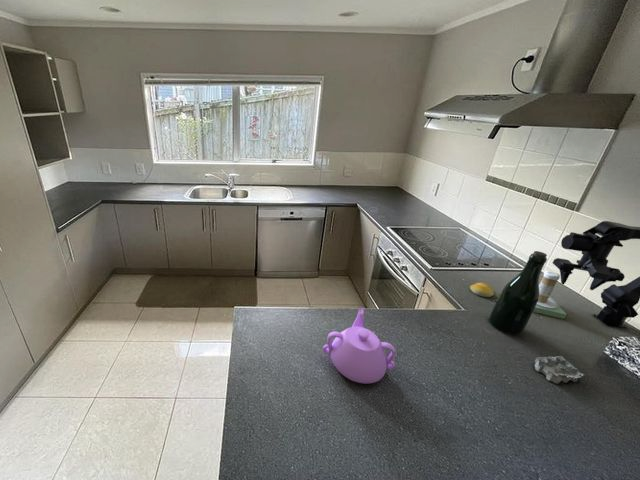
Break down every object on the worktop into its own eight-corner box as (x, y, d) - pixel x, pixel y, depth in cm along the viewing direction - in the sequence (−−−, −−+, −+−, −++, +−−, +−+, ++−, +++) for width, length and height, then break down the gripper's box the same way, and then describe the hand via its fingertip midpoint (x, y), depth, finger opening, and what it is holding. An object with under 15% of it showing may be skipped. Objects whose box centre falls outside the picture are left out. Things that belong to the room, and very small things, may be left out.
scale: (549, 302, 126) (552, 295, 124) (563, 318, 115) (567, 312, 114) (510, 293, 131) (513, 287, 129) (521, 309, 120) (524, 302, 119)
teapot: (385, 342, 100) (394, 312, 95) (396, 398, 81) (408, 364, 75) (323, 329, 105) (328, 299, 100) (319, 378, 86) (325, 345, 81)
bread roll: (466, 289, 132) (468, 282, 131) (477, 285, 136) (480, 278, 134) (485, 300, 125) (488, 292, 124) (496, 295, 129) (499, 288, 127)
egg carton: (551, 384, 87) (557, 375, 85) (528, 364, 94) (533, 355, 92) (582, 383, 88) (589, 374, 86) (557, 362, 95) (562, 354, 93)
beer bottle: (500, 315, 116) (534, 244, 103) (528, 333, 107) (569, 258, 94) (481, 319, 114) (513, 247, 101) (508, 338, 104) (548, 261, 91)
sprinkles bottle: (539, 296, 124) (552, 270, 118) (549, 302, 120) (563, 276, 114) (529, 296, 124) (542, 270, 118) (539, 303, 119) (553, 276, 114)
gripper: (577, 257, 104) (557, 291, 111) (646, 269, 98) (622, 305, 104) (560, 244, 114) (543, 277, 120) (623, 255, 107) (602, 288, 114)
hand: (576, 286), depth 114 cm, fingers open, 9 cm apart
